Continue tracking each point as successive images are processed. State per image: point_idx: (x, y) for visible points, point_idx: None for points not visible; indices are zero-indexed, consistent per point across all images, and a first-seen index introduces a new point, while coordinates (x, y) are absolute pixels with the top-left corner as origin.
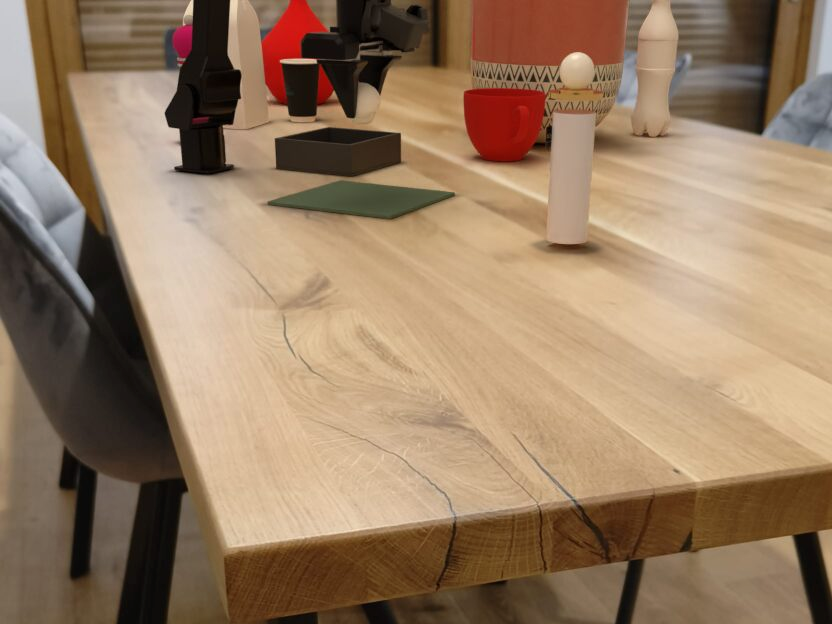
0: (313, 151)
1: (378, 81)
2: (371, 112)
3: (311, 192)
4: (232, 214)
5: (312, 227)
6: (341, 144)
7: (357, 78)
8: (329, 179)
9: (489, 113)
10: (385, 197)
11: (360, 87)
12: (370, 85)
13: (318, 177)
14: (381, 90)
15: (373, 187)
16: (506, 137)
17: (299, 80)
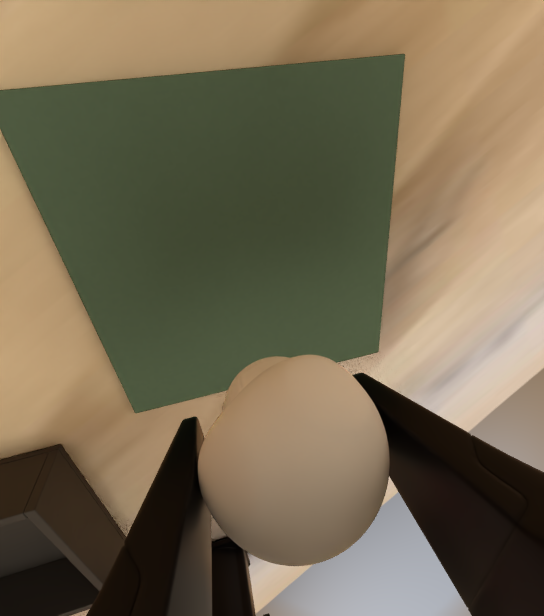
0: (86, 538)
1: (176, 576)
2: (315, 355)
3: None
4: (454, 331)
5: (514, 161)
6: (47, 524)
7: (523, 503)
8: (121, 444)
9: None
10: (220, 220)
11: (373, 493)
12: (301, 511)
13: (123, 465)
14: (139, 518)
15: (141, 322)
16: None
17: None
